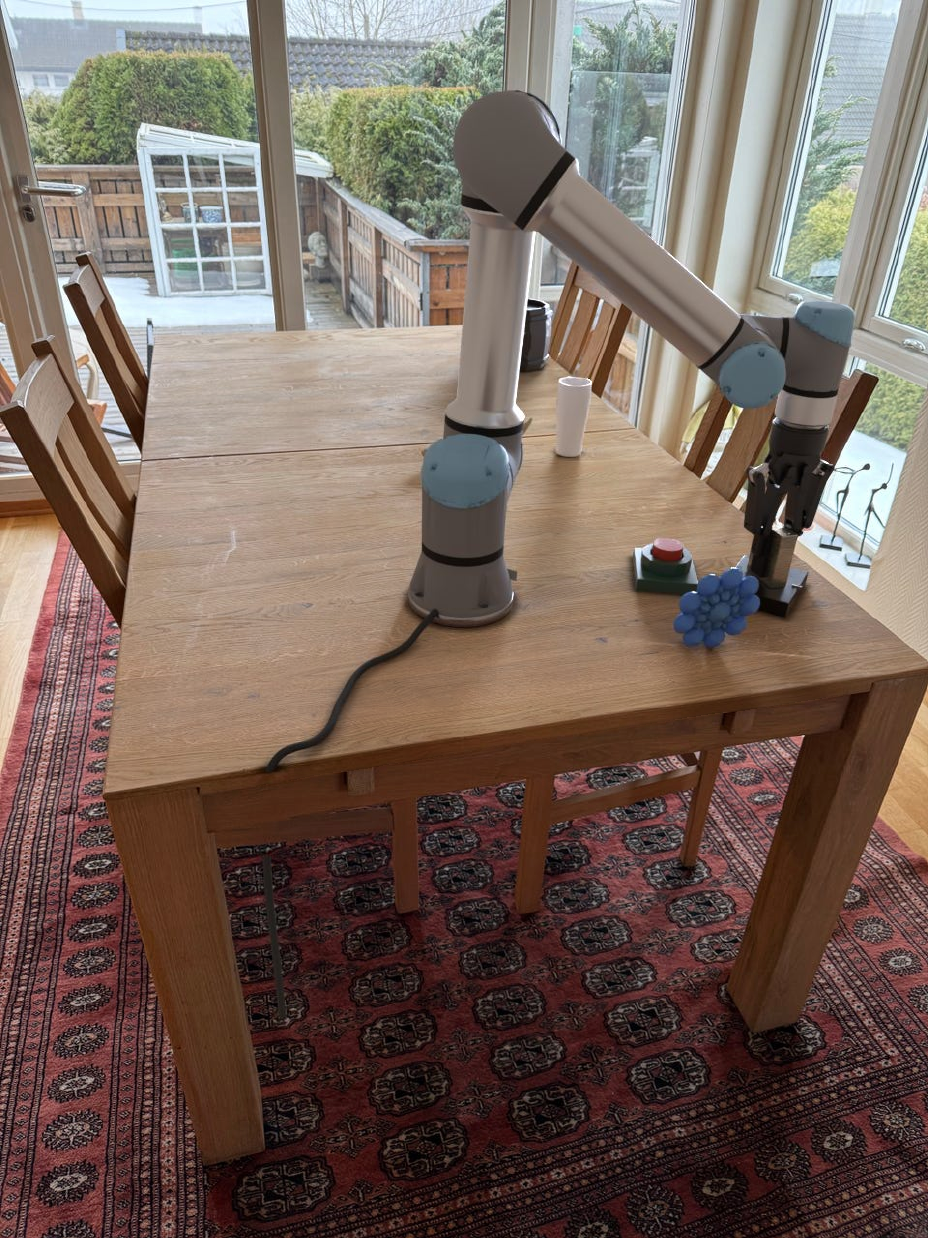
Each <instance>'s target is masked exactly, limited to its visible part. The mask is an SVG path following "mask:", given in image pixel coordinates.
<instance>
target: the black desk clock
mask: <svg viewBox="0 0 928 1238" xmlns="http://www.w3.org/2000/svg"><path fill="white" fill-rule="evenodd" d="M553 315H554V312H553V310H552V309H551V306H550V304H549V303H547V302H546V301H544V300H540V299H536V298H529V297H528V300H527V309H526V317H525V326H524V335H523V343H522V352H521V360H520V369H519V372H531V371H539V370H541V369H542V368H543V367H544V366H545V365H546V362H547V361H549V358H550V354H549V351H550V344H551V338H552V337H551V336H552V317H553Z"/></svg>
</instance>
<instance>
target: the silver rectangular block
mask: <svg viewBox="0 0 928 1238" xmlns="http://www.w3.org/2000/svg"><path fill="white" fill-rule="evenodd" d="M770 536H772V537H773V543H772V547H771V552H770V556H769V560H768V565H767V569H766V573H765V577H764V578H760V577H758V576H757V575H756V574H755V573H753V572H752V571H751V570H750V568H751V563H752V559H753V553H752V552H751V550H750V551H749V555H748V556H749V560H748V565H747V570H749V571H750V572H751V573H752V574H753V575H755V576H756V577H757V578H758V579H760V580H761V581H762V582H763V583H764V584H766V585H767V586H768V587H769V588H779V587H785V586H786V582H787V578H788V574H789V570H790V567H791V565H792V561H793V557H794V553H795V549H796V545H797V541H798V537H799V536H798V535H797V534H796V533H794V532H793V531H792V530H790V529H789V528H787V527H786V526H785V525H784V523H782V522H780V521H779V520H778V519H777V518H775V521H774V524H773V527H772V529H771V532H770ZM753 538H754V536H753V537H752V539H753ZM752 543H753V541H752V542H751V544H752Z"/></svg>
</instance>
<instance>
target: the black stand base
mask: <svg viewBox="0 0 928 1238" xmlns="http://www.w3.org/2000/svg"><path fill="white" fill-rule="evenodd" d="M749 556H750V555H746V554H744V556H742V558H741V559H740V560H739V562H738V563H737V564H736V565H735V567H730V569H731V568H738V569H740V570H741V571H742V573H743V578H744V577H747V576H753V577H755V578H756V579H757V580H758V583H759V587H758V589H757V592H756V593H755V594H754V595H756V596H757V597H758V598H759V599H760V605H759V608H758V610H757V611H759V612H761V613H766V614H769V615H773V616H777V617H779V618H783V619H785V618H786V617H787V616H788V614H789V613H790V611H791V609H792V607H794V605H795V603H796V601H797V600H798V598H799V597H800V595H801V593H802V592H803V590H804V588H805V587H806V585H807V581H808V577H809V571H806V570H802V569H799V568H795V567H791V566H790V570H789V574H788V578H787V582H786V586H785V587H779V588H769V587H768V586H767V585H766V584H764V583H763V582H762V581H761V580H760V579H758V578H757V577H756V576H755V575H753V574H752V573H751V572H750V571H749V570H747V565H748V560H749Z"/></svg>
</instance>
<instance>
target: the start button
mask: <svg viewBox="0 0 928 1238" xmlns="http://www.w3.org/2000/svg"><path fill="white" fill-rule="evenodd" d="M652 544H653V547H652V556H653V557H655V558H657V559H660V560H663V561H678V560H681V558H682V553H683V548H685V546H684V544H683V543H682V542H681V541H679V540H677V539H674V538H668V537H662V538H657V539H655V540H654V541H653V542H652Z"/></svg>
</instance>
